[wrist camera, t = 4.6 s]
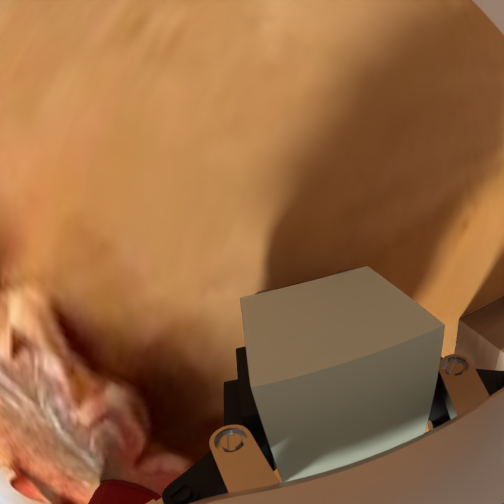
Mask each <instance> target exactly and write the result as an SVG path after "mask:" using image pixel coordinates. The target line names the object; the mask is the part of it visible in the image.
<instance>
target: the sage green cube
mask: <svg viewBox="0 0 504 504" xmlns="http://www.w3.org/2000/svg"><path fill="white" fill-rule="evenodd" d="M240 303H241V311H242V320H243V329H244V337H245V345H246V354H247V362H248V370H249V378H250V386H251V390H252V393H253V396H254V399H255V403H256V406H257V409H258V412H259V415H260V418H261V421H262V424H263V427H264V430H265V433H266V436H267V439H268V442H269V445H270V448H271V451H272V454H273V457H274V460H275V463H276V466H277V469H278V472H279V474H280V477H281V480H282V482H287V481H291V480H295V479H299V478H303V477H307V476H311V475H315V474H319V473H322V472H326V471H329V470H332V469H336V468H339V467H342V466H345V465H348V464H351V463H354V462H357V461H360V460H362V459H365V458H368V457H371V456H373V455H376V454H378V453H381V452H383V451H386V450H388V449H391V448H393V447H396V446H398V445H400V444H402V443H405V442H407V441H409V440H411V439H413V438H416V437H418V436H420V435H422V434H424V433H425V430H426V426H427V422H428V418H429V414H430V410H431V406H432V401H433V397H434V392H435V387H436V382H437V377H438V371H439V365H440V359H441V352H442V345H443V337H444V328H445V325H444V324H443V323H442V322H441V321H439V320H438V319H437V318H436V317H434V316H433V315H432V314H431V313H429V312H428V311H427V310H426V309H424V308H423V307H422V306H420V305H419V304H418V303H417V302H415V301H414V300H413V299H411V298H410V297H409V296H407V295H406V294H405V293H403V292H402V291H401V290H399V289H398V288H397V287H395V286H394V285H393V284H391V283H390V282H389V281H387V280H386V279H385V278H383V277H382V276H381V275H379V274H378V273H377V272H375V271H374V270H373V269H371V268H370V267H368V266H365V267H361V268H357V269H354V270H351V269H348V270H342V271H339V272H337V273H336V274H334V275H331V276H328V277H324V278H320V279H316V280H312V281H308V282H304V283H300V284H296V285H292V286H288V287H284V288H280V289H276V290H263V291H260V292H257V293H256V294H254V295H251V296H247V297H243V298H240Z"/></svg>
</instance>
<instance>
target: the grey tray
mask: <svg viewBox="0 0 504 504" xmlns="http://www.w3.org/2000/svg"><path fill="white" fill-rule="evenodd" d="M455 354H459V355H463V356H465V357H467V358H468V359H469V360H470V361H471V363H472V364H473V366H474V368H475V369H485V370H498V371H504V297H503V298H501V299H499V300H497V301H495V302H493V303H491V304H490V305H488V306H486V307H484V308H482V309H480V310H478V311H476V312H474V313H472V314H470V315H468V316H466V317H464V318H462V319H460V320H459V325H458V334H457V341H456V348H455Z"/></svg>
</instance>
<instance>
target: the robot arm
mask: <svg viewBox="0 0 504 504" xmlns="http://www.w3.org/2000/svg"><path fill="white" fill-rule="evenodd" d="M236 358H237V372H238V379H237V380H232V381H227V382H224V427H222V428H220V429H218V430H217V431H215V432H214V433H213V435H212V436H211V438H210V441H209V444H210V448H211V451H210V452H209V453H208V454H206V455H205V456H204V457H203V458H202V459H200V460H199V461H198V462H197V463H196V464H194V465H193V466H192V467H191V468H190V469H188V470H187V471H186V472H185V473H183V474H182V475H181V476H179V477H178V478H177V479H176V480H174V481H173V482H172V483H170V484H169V485H168V486H167V487H166V488H165V490H164V492H163V495H162V498H160V499H158V500H157V501H155V500H154V499H153V500H151V501H149V502H148V503H146V504H504V371H498V370H485V369H475V368H474V366H473V364H472V363H471V361H470V360H469V359H468V358H467V357H465V356H463V355H459V354H452V355H448V356H445V357H444V358H442V357H441V359H440V365H439V371H438V377H437V382H436V387H435V392H434V397H433V401H432V406H431V410H430V414H429V418H428V422H427V424H428V428H429V431H428V432H426V433H424V434H422V435H420V436H418V437H416V438H413V439H411V440H409V441H407V442H405V443H402V444H400V445H398V446H396V447H393V448H391V449H388V450H386V451H383V452H381V453H378V454H376V455H373V456H371V457H368V458H365V459H362V460H360V461H357V462H354V463H351V464H348V465H345V466H342V467H339V468H336V469H332V470H329V471H326V472H322V473H319V474H315V475H311V476H307V477H303V478H299V479H295V480H291V481H287V482H282V483H280V481H279V480H278V478H277V477H276V475H275V473H274V470H275V469H277V467H276V463H275V460H274V457H273V454H272V451H271V448H270V445H269V442H268V439H267V436H266V433H265V430H264V427H263V424H262V421H261V418H260V415H259V412H258V409H257V406H256V403H255V399H254V396H253V393H252V390H251V386H250V378H249V370H248V362H247V354H246V347H241V348H237V349H236Z"/></svg>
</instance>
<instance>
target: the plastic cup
mask: <svg viewBox="0 0 504 504" xmlns="http://www.w3.org/2000/svg"><path fill="white" fill-rule="evenodd" d="M160 498H161V497H160V496H159V495H157V494H156V493H154V492H153V491H151V490H149V489H147V488H144V487H142V486H139V485H136V484H133V483H129V482H125V481H117V480H109V481H103V482H102V483H101V485H100V486H99V487H98V488H97V489H96V490H95V492H94V494H93V496H92V498H91V499H90V501H89V503H88V504H146V503H148V502H149V501H151V500H153V499H154V500H155V501H157V500H158V499H160Z"/></svg>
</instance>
